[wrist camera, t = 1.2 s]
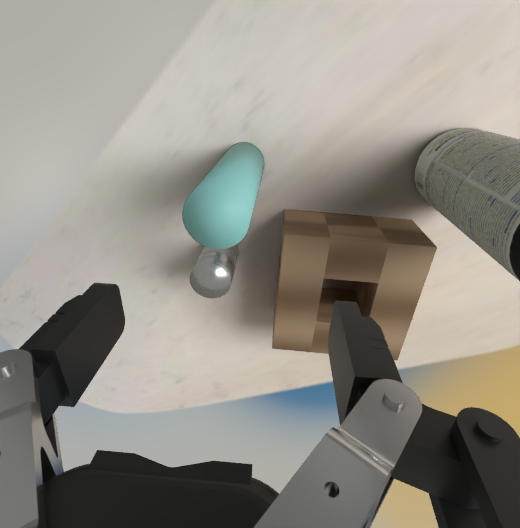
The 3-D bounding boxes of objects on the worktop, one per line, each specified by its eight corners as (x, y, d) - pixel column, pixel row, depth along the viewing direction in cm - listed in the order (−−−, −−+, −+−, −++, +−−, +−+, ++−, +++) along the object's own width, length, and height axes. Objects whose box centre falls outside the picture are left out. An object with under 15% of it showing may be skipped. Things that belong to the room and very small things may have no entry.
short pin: (204, 233, 34) (188, 261, 28) (239, 236, 33) (231, 264, 28) (204, 264, 35) (190, 296, 30) (238, 267, 35) (230, 299, 30)
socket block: (284, 209, 32) (284, 234, 26) (411, 219, 31) (436, 247, 26) (274, 311, 37) (272, 348, 32) (381, 320, 37) (397, 360, 32)
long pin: (224, 140, 29) (180, 182, 17) (265, 143, 29) (251, 188, 17) (224, 181, 31) (183, 246, 19) (263, 184, 31) (248, 251, 18)
